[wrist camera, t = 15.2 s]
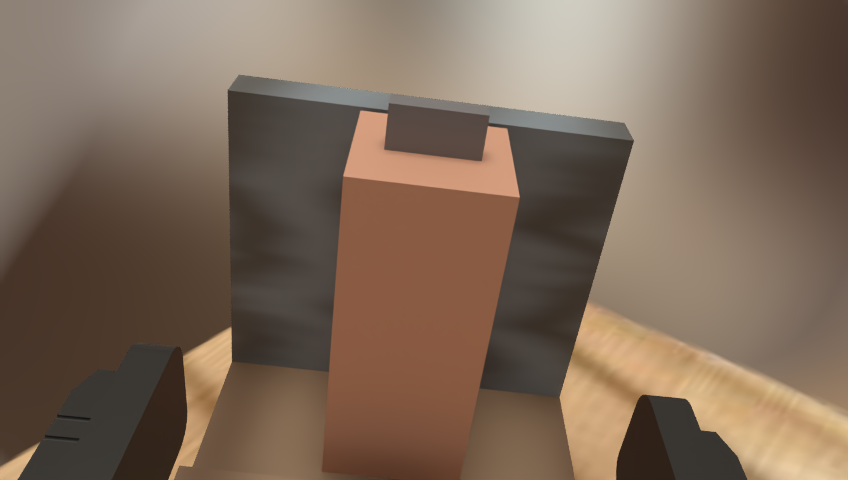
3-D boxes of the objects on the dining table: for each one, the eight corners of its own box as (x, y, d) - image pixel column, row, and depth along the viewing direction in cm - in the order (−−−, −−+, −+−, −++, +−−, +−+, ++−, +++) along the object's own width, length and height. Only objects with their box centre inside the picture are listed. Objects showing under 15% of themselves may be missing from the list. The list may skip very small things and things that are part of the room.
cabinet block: (456, 391, 31) (515, 86, 24) (458, 485, 27) (529, 149, 20) (338, 378, 31) (363, 67, 24) (321, 471, 27) (347, 126, 20)
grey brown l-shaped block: (528, 465, 36) (624, 123, 27) (553, 666, 28) (704, 272, 19) (241, 434, 36) (238, 74, 27) (179, 631, 27) (143, 206, 18)
